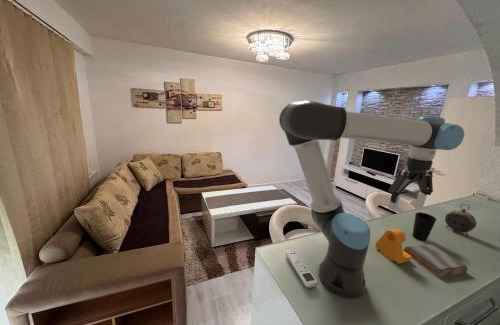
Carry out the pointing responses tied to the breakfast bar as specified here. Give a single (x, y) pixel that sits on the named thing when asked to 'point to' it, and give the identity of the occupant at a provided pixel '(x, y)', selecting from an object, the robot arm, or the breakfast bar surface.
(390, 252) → the bracket
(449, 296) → the breakfast bar surface
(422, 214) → the cup
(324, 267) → the robot arm
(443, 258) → the plinth
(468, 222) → the alarm clock
